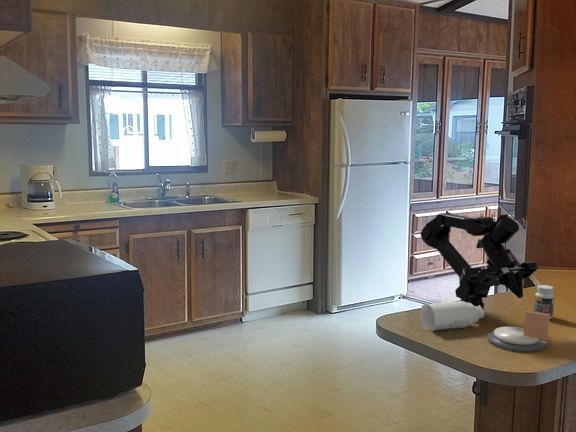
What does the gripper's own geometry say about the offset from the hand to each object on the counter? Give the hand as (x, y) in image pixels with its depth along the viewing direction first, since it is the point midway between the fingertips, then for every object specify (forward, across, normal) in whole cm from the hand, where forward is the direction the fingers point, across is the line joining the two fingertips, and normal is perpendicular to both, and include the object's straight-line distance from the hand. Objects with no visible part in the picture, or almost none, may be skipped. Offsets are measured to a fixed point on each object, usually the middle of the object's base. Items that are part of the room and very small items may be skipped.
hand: (521, 297), depth 175 cm
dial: (+10, +4, -4) cm, 12 cm away
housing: (+11, +4, -5) cm, 13 cm away
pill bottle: (0, -21, -17) cm, 27 cm away
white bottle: (-2, +13, -19) cm, 23 cm away
